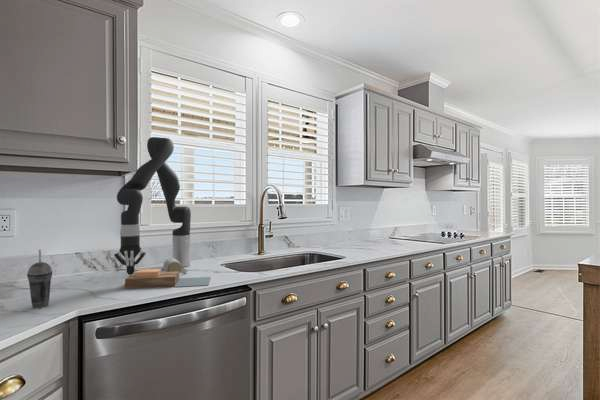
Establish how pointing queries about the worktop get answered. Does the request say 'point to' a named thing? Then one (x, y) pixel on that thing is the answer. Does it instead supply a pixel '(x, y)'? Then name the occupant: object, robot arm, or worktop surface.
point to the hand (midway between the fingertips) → (130, 274)
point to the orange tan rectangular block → (148, 272)
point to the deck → (152, 280)
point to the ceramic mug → (173, 266)
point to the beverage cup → (39, 283)
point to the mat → (193, 282)
